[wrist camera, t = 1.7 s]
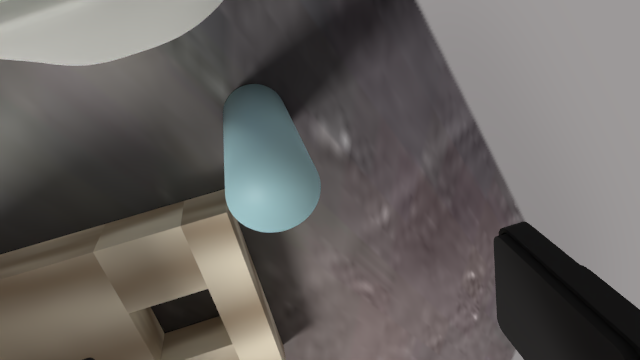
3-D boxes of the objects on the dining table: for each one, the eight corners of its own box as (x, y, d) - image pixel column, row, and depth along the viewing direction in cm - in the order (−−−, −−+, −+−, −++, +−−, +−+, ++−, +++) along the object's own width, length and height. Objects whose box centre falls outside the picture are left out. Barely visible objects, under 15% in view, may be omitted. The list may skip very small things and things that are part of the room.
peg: (214, 93, 24) (211, 163, 15) (276, 76, 25) (308, 134, 16) (233, 151, 26) (241, 243, 17) (292, 134, 26) (329, 217, 17)
